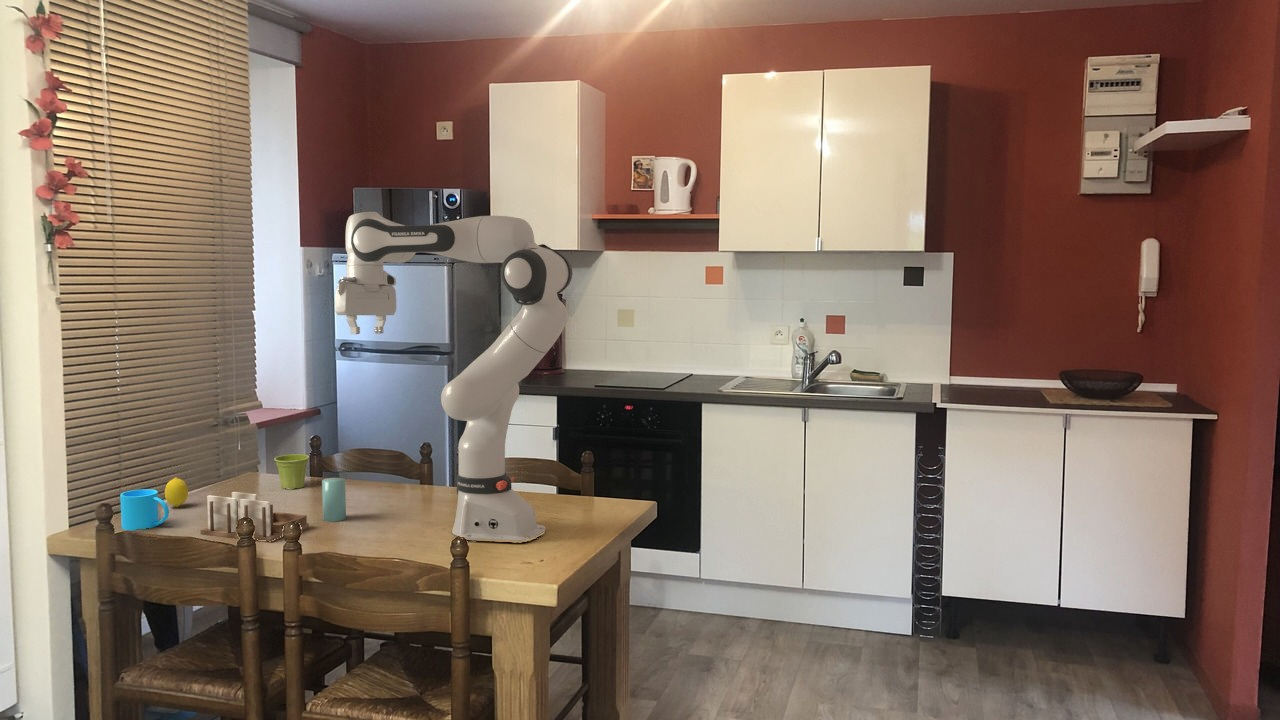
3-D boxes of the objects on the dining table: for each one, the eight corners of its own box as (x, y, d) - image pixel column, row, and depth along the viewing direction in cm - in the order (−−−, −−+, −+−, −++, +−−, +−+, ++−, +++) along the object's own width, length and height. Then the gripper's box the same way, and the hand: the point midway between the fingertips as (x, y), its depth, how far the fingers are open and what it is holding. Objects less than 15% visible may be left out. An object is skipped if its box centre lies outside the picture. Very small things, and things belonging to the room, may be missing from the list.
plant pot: (300, 491, 282) (300, 461, 282) (269, 490, 284) (268, 460, 283) (315, 484, 292) (314, 454, 291) (284, 483, 293) (284, 453, 292)
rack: (308, 527, 246) (307, 491, 245) (270, 542, 233) (269, 504, 232) (241, 519, 252) (240, 484, 251) (200, 534, 239) (199, 496, 238)
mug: (113, 529, 243) (112, 496, 242) (137, 520, 251) (136, 488, 250) (157, 532, 240) (156, 499, 239) (180, 523, 248) (178, 491, 247)
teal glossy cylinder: (350, 517, 256) (349, 478, 255) (337, 522, 250) (336, 483, 249) (331, 515, 257) (331, 476, 256) (318, 520, 252) (317, 481, 251)
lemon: (169, 511, 260) (167, 480, 259) (162, 507, 264) (161, 477, 263) (191, 507, 263) (190, 477, 262) (184, 503, 267) (183, 474, 267)
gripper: (349, 275, 238) (351, 334, 238) (400, 278, 257) (401, 333, 257) (327, 277, 240) (329, 334, 241) (379, 280, 259) (381, 333, 260)
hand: (367, 334), depth 249 cm, fingers open, 8 cm apart
